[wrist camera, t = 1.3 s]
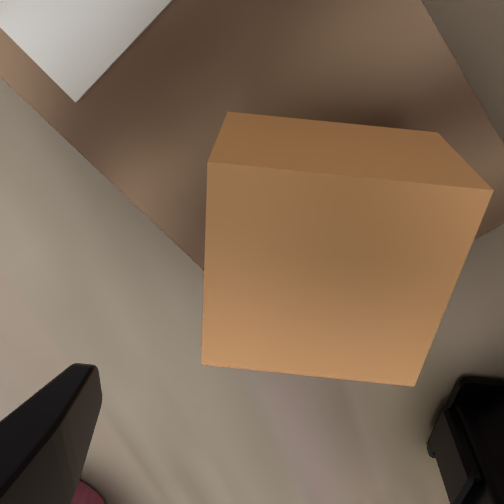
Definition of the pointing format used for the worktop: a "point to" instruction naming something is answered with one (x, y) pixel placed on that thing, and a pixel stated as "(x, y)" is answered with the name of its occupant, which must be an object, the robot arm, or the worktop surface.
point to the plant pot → (86, 495)
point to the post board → (232, 85)
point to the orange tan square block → (332, 246)
